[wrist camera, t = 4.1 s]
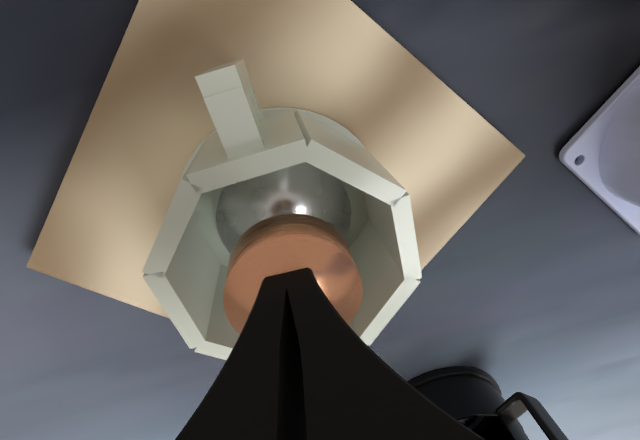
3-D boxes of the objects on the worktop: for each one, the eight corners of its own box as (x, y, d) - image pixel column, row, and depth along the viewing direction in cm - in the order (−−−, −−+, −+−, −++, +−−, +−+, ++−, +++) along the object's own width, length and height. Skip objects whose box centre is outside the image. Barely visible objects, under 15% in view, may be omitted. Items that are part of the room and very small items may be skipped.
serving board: (511, 149, 17) (525, 155, 16) (323, 361, 21) (326, 374, 21) (202, -122, 11) (196, -136, 10) (39, 254, 16) (26, 267, 15)
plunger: (359, 247, 16) (401, 337, 11) (246, 282, 16) (237, 388, 11) (331, 132, 13) (369, 185, 9) (194, 174, 13) (154, 251, 9)
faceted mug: (394, 258, 17) (438, 331, 13) (227, 309, 17) (215, 400, 13) (348, 25, 12) (395, 16, 8) (113, 97, 12) (28, 127, 8)
